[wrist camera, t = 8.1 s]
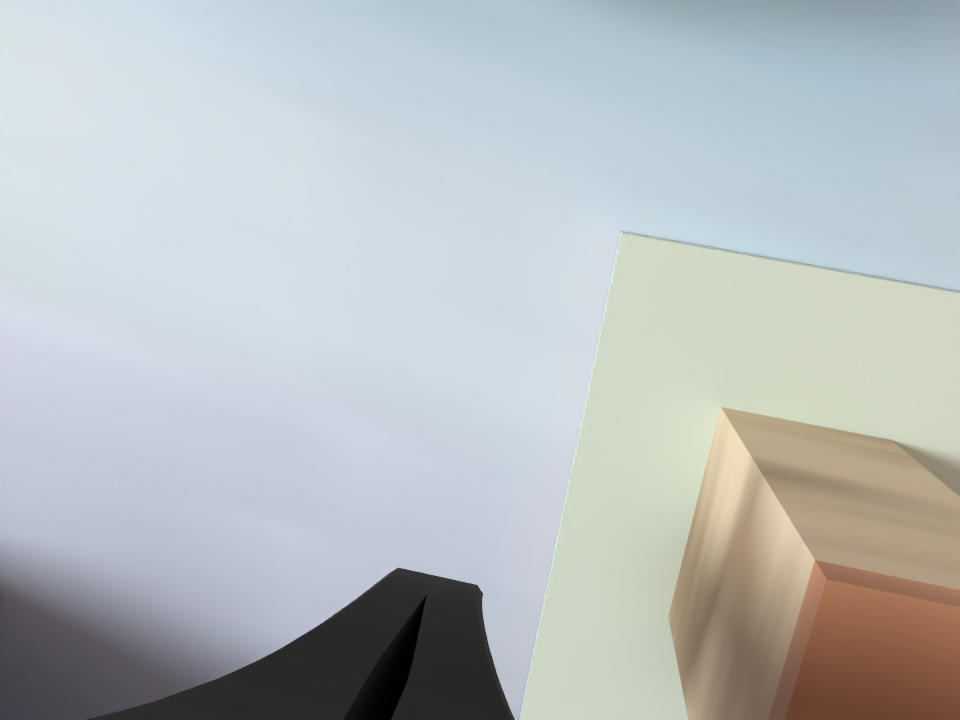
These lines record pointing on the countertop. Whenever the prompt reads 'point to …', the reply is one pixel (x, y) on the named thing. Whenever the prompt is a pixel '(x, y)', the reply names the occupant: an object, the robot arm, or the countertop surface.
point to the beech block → (817, 579)
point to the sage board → (689, 433)
